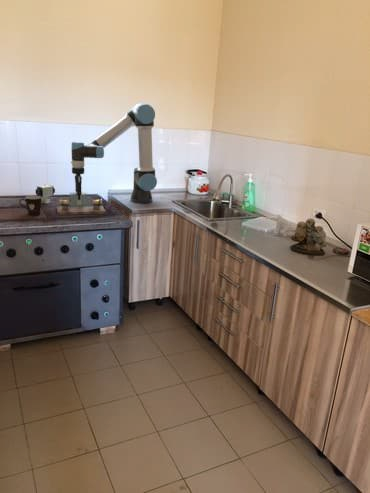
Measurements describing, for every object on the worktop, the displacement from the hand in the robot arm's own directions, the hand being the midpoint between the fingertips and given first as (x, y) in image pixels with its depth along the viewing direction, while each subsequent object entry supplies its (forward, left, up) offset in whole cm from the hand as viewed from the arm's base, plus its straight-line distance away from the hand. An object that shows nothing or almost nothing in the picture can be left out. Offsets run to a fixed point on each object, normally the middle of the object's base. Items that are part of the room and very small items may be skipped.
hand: (78, 203), depth 270 cm
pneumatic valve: (+20, -8, -1) cm, 22 cm away
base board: (0, +15, -1) cm, 15 cm away
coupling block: (0, 0, -1) cm, 1 cm away
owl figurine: (-102, +102, -2) cm, 144 cm away
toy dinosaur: (-105, +76, -2) cm, 130 cm away
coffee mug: (+28, +19, -1) cm, 34 cm away
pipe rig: (0, +15, 0) cm, 15 cm away
